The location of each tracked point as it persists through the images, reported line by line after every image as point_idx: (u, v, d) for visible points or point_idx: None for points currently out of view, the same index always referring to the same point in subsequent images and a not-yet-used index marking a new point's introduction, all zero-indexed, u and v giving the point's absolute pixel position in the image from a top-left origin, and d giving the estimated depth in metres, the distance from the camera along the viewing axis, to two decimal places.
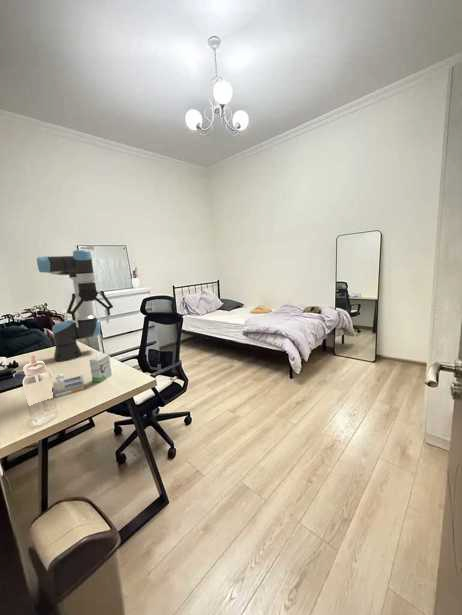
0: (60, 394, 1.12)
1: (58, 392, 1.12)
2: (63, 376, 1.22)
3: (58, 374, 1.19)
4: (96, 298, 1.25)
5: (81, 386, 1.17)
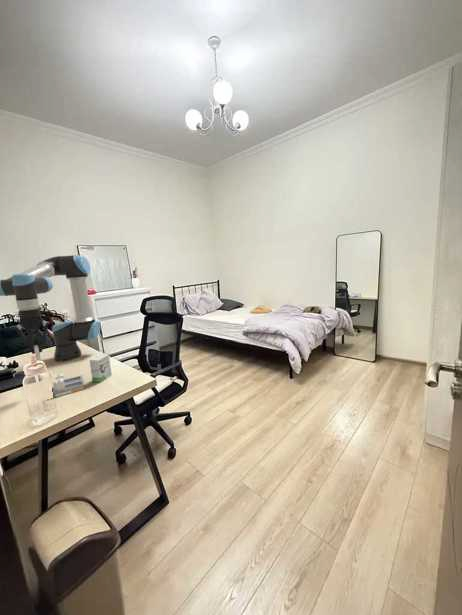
0: (60, 394, 1.12)
1: (58, 392, 1.12)
2: (63, 376, 1.22)
3: (58, 374, 1.19)
4: (36, 328, 1.12)
5: (81, 386, 1.17)
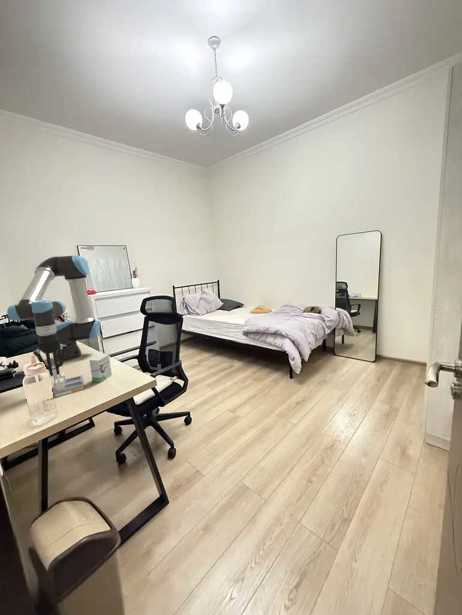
0: (60, 394, 1.12)
1: (58, 392, 1.12)
2: None
3: (60, 374, 1.20)
4: (54, 352, 1.16)
5: (81, 386, 1.17)
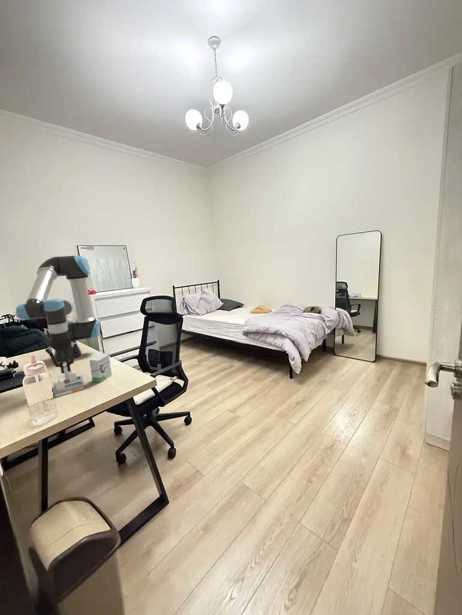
0: (60, 394, 1.12)
1: (58, 392, 1.12)
2: None
3: (71, 371, 1.22)
4: (66, 350, 1.19)
5: (81, 386, 1.17)
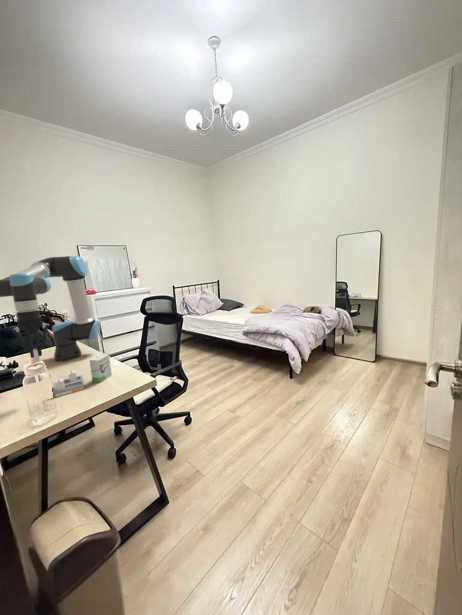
0: (60, 394, 1.12)
1: (58, 392, 1.12)
2: None
3: (71, 371, 1.22)
4: (35, 331, 1.06)
5: (81, 386, 1.17)
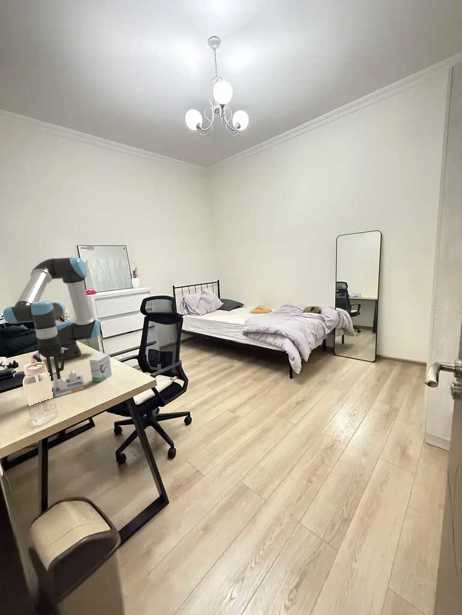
0: (60, 394, 1.12)
1: (58, 392, 1.12)
2: None
3: (71, 371, 1.22)
4: (55, 356, 1.11)
5: (81, 386, 1.17)
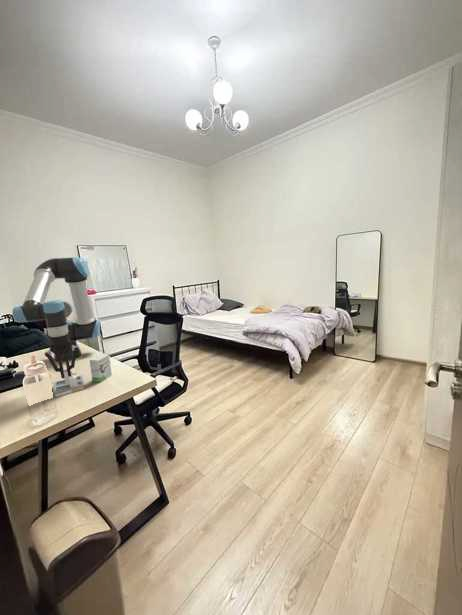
0: (60, 394, 1.12)
1: (58, 392, 1.12)
2: None
3: (71, 371, 1.22)
4: (66, 354, 1.13)
5: (81, 386, 1.17)
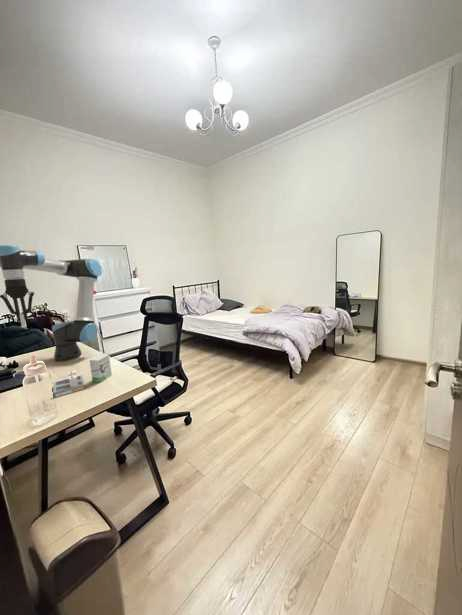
0: (60, 394, 1.12)
1: (58, 392, 1.12)
2: None
3: (71, 371, 1.22)
4: (21, 297, 1.19)
5: (81, 386, 1.17)
